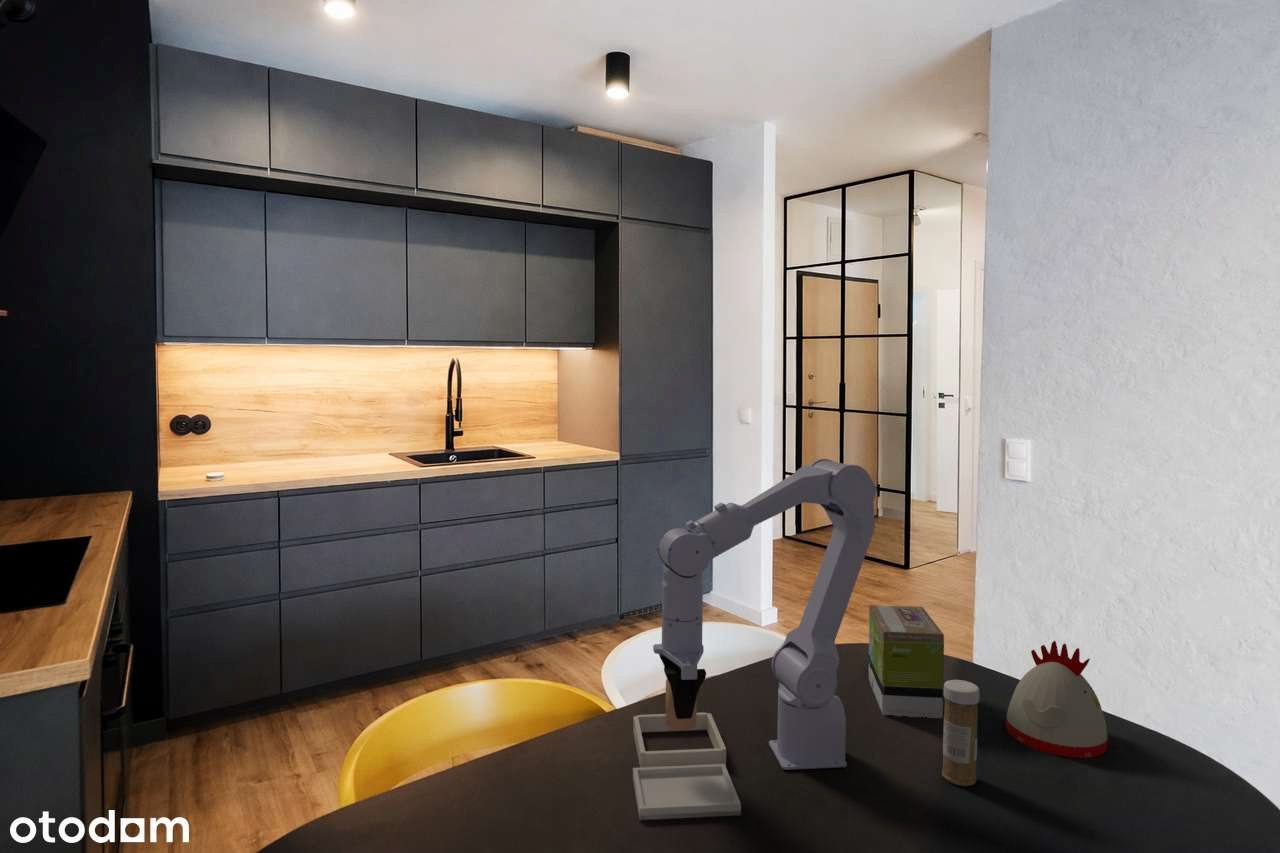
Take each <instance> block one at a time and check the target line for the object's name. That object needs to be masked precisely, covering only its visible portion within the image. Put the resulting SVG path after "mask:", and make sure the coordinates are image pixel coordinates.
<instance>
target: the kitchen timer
mask: <svg viewBox="0 0 1280 853" xmlns="http://www.w3.org/2000/svg"><path fill="white" fill-rule="evenodd" d="M1050 645H1051V646H1050V650H1049V651H1048V648H1047V647H1046V645H1045V644H1042V645H1041V646H1040V652H1041V656H1042V658H1040V656H1039V655H1038V654H1037V652H1036V650H1035V649H1032V650H1030V652H1031V653H1030V654H1031V657H1032V659H1033V661H1034V664H1035V666H1033V667H1032V668H1031V669H1030V670H1028V671H1027V672H1026V673H1025V674H1024V675H1023V676H1022V678H1021V679H1020V680H1019V682H1018V683H1017V685H1016V687H1015V689H1014V692H1013V694H1012V697H1011V699H1010V702H1009V705H1008V708H1007V711H1006V722H1005V727H1006V730H1007V732H1008V734H1010V736H1012V738H1014V739H1015V740H1017V741H1018V742H1020V743H1022V744H1023V745H1024V746H1027V747H1030V748H1032V749H1035V750H1037V751H1041V752H1043V753H1044V752H1045V753H1047V754H1051V755H1055V756H1060V757H1066V758H1078V759H1079V758H1080V759H1082V758H1083V759H1084V758H1095V757H1098V756H1101V755H1103V754H1104V753H1105V752H1106V751H1107V749H1108V727H1107V724H1106V718H1105V716H1104V715H1105V714H1104V712H1103V710H1102V705H1101V702H1100V700H1099V698H1098V695H1097V694H1096V691H1094V689H1093V687H1092V686H1091V684H1090V683H1089V682H1088V680H1087V679H1086V678H1085V677H1084V676H1083V675H1082V672H1084V670H1085V668H1086V667H1087V665H1088V664H1089V662H1090V659H1091V658H1087V659H1086V660H1085V661H1083V662H1081V660H1080V655H1081V654H1080V653H1081V652H1080V650H1081V649H1080V648H1079V647H1077V648H1076V649H1075V650H1074V652H1073V654H1072V656H1071V658H1070V657H1069V651H1068V647H1067V644H1066V643H1063V644H1062V645H1061V650H1060V654H1059V650H1058V645H1057V641H1056V640H1053V641H1052V642H1051V644H1050Z"/></svg>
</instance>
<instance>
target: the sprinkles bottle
mask: <svg viewBox="0 0 1280 853" xmlns="http://www.w3.org/2000/svg"><path fill="white" fill-rule="evenodd" d="M943 700H944V709H943V711H944V714H943V736H942V754H943V755H942V756H943V757H942V758H943V760H942V770H941V776H942V777H943V778H944V780H946V781H947V782H949V783H951V784H953V785H957V786H962V787H969V786H974V785H975V784H976V782H977V779H978V777H977V760H978V708H979V707H978V705H979V702H980V689H979V687H978V685H976V684H974V683H973V682H970V681H968V680H960V679H949V680H946V681H945V682H943Z"/></svg>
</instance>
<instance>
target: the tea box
mask: <svg viewBox="0 0 1280 853" xmlns="http://www.w3.org/2000/svg"><path fill="white" fill-rule="evenodd" d="M868 609H869V610H868V612H869V613H868V680H869V683H870V687H871V690H872V691H873V694H874V696H875V697H874V698H875V700H876V702H877V705H878V707H879V710H880V711H881V712H880V713H881V714H882V716H887V715H894V716H893V717H901V716H907V717H906V718H919V717H920V718H921V717H924V718H923V719H942V718H943V715H944V714H943V711H944V667H945V666H944V659H945V658H944V657H945V656H944V654H945V635H944V632H942V630H941V629H940V627H939V626H938V625H937V623H936V622H935V621H934V620H933V618H932V617H931V616H930V614H929V613H928V612H927V610H925V608H924V607H923V606H909V605H908V606H907V605H906V606H905V605H904V606H903V605H902V606H901V605H871V604H869V607H868ZM925 717H927V718H925ZM920 718H919V719H920ZM921 719H922V718H921Z"/></svg>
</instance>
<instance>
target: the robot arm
mask: <svg viewBox="0 0 1280 853" xmlns="http://www.w3.org/2000/svg"><path fill="white" fill-rule="evenodd" d="M877 491H878V488H877V486H876V484H875V482H874V481H873V479H872V477H871V475H870V474H869V472H868V471H867V470H866V469H865V468H864V467H862V466H860V465H858V464H846V463H842V462H838V461H833V460H832V459H829V458H820V459H818V460H817V459H816V460H815V461H813V462H812V463H810V465H809V464H807V465H804V466H801V467H799V468H798V469H797V470H796V471H795V472H793V473H792V474H791V475H789V476H788V477H786V478H784V479H783V480H781V481H779V482H778V483H776V484H774V485H773V486H771V487H770V488H768V489H767V490H765V491H763V492H762V493H760V494H759V495H756V496H755V497H754V498H752V499H750V500H749V501H747V502H745V503H743V504H742V505H741V504H740V505H739V504H736V503H734V502H728V503H726V504H725V503H723V502H719V503H718V504H716V505H714V510H713V511H711V512H710V513H708V514H706V515H704V516H702V517H701V518H698V519H697V520H695V521H693V520H692V519H691V520H688V521H687V522H686V523H685V528H682V527H681V528H679V527H676V528H673V529H671V530H668V531H667V532H666V533H664V535H663V538H661V539H660V541H659V545H658V546H657V547H656V554H657V555H658V559H659V560H660V561H661V562H662V564H663V565H662V583H661V643H655V644H653V646H652V647H653V648H652V650H653V653H654V654H657V655H658V656H659V658H660V660H661V662H662V665H663V666H664V667H663V672H664V676H665V677H666V680H667V679H668V681H669V683H670V686H671V690H672V696H673V703H674V710H675V714H676V717H677V719H691V718H692V715H693V711H694V707H695V702H696V698H697V699H698V694H699V692H700V688H701V686H702V685H703V683H704V681H705V679H706V677H707V672H706V669H705V668H698V665H699V662H700V660H701V658H702V657H703V654H704V651H705V650H704V648H705V647H704V644H703V614H704V613H703V606H704V605H703V603H704V601H703V600H704V599H703V598H704V595H703V594H704V593H703V592H704V591H703V590H704V584H703V576H704V575H703V572H705V570H706V569H707V567H708V566H709V563H710V561H711V560H713V559H714V558H717V557H718V556H720V555H722V554H724V553H726V552H727V551H729V550H730V549H732V548H735V547H736V546H737V545H738V546H739V545H740V544H742V543H743V542H746V541H747V540H749V539H750V538H751V536H752V534H753V530H754V527H755V526H756V525H759V524H762V523H763V522H765V521H767V520H770V519H771V518H773V517H776V516H777V515H780V514H781V513H783V512H785V511H786V512H787V510H789V509H792V508H794V507H797V506H798V505H800V504H803V503H805V504H806V503H807V504H816V505H818V504H819V505H820V506H821V507H822V508H823V509H824V511H825V513H826V514H827V517H828V518H829V520H830V522H831V524H832V525H833V531H832V533H831V536H830V539H829V540H828V541H829V542H828V544H827V547H826V550H825V553H824V555H823V558H822V560H821V564H820V566H819V570H818V572H817V574H816V578H815V580H814V582H813V587H812V589H811V592H810V595H809V597H808V599H807V603H806V606H805V607H804V608H805V609H804V611H803V614H802V617H801V620H800V623H799V625H798V626H797V627H795V628H794V629H791V631H789V632H788V633H787V634H786V636H785V640H784V642H783V643H782V644H781V645H780V647H779V648H778V649H777V650H776V651H775V652H774V654H773V655H772V658H771V671H772V673H773V675H774V676H775V678H776V679H777V680H778V691H777V694H778V695H777V736H776V737H777V739H774V740H773V739H772V740H769V741H768V745H769V747H770V748H771V750H772V752H773V754H774V756H775V758H776V759H777V761H778V763H779V765H780V766H781V767H780V768H782V770H786V771H789V770H806V769H807V770H811V769H829V768H830V769H832V768H833V769H834V768H846V767H847V766H848V765H847V764H848V762H847V761H846V738H847V737H846V735H847V733H846V731H847V730H846V727H847V724H846V722H847V721H846V719H847V718H846V712H845V707H844V704H843V702H842V700H841V698H840V696H837V695H835V693H836V691H837V688H838V687H837V686H838V678H837V672H838V667H839V664H840V663H841V662H840V656H839V653H838V650H837V646H836V643H835V642H836V641H835V640H836V638H837V636H838V632H839V630H840V627H841V624H842V622H843V619H844V616H845V614H846V612H847V611H846V610H847V607H848V605H849V602H850V599H851V597H852V594H853V591H854V589H855V585H856V582H857V579H858V577H859V574H860V570H862V565H863V564H864V560H865V557H866V554H867V552H868V549H869V547H870V543H871V541H872V537H873V535H874V532H875V528H876V523H875V521H876V520H875V506H874V505H875V504H874V499H875V498H876V494H877Z"/></svg>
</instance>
